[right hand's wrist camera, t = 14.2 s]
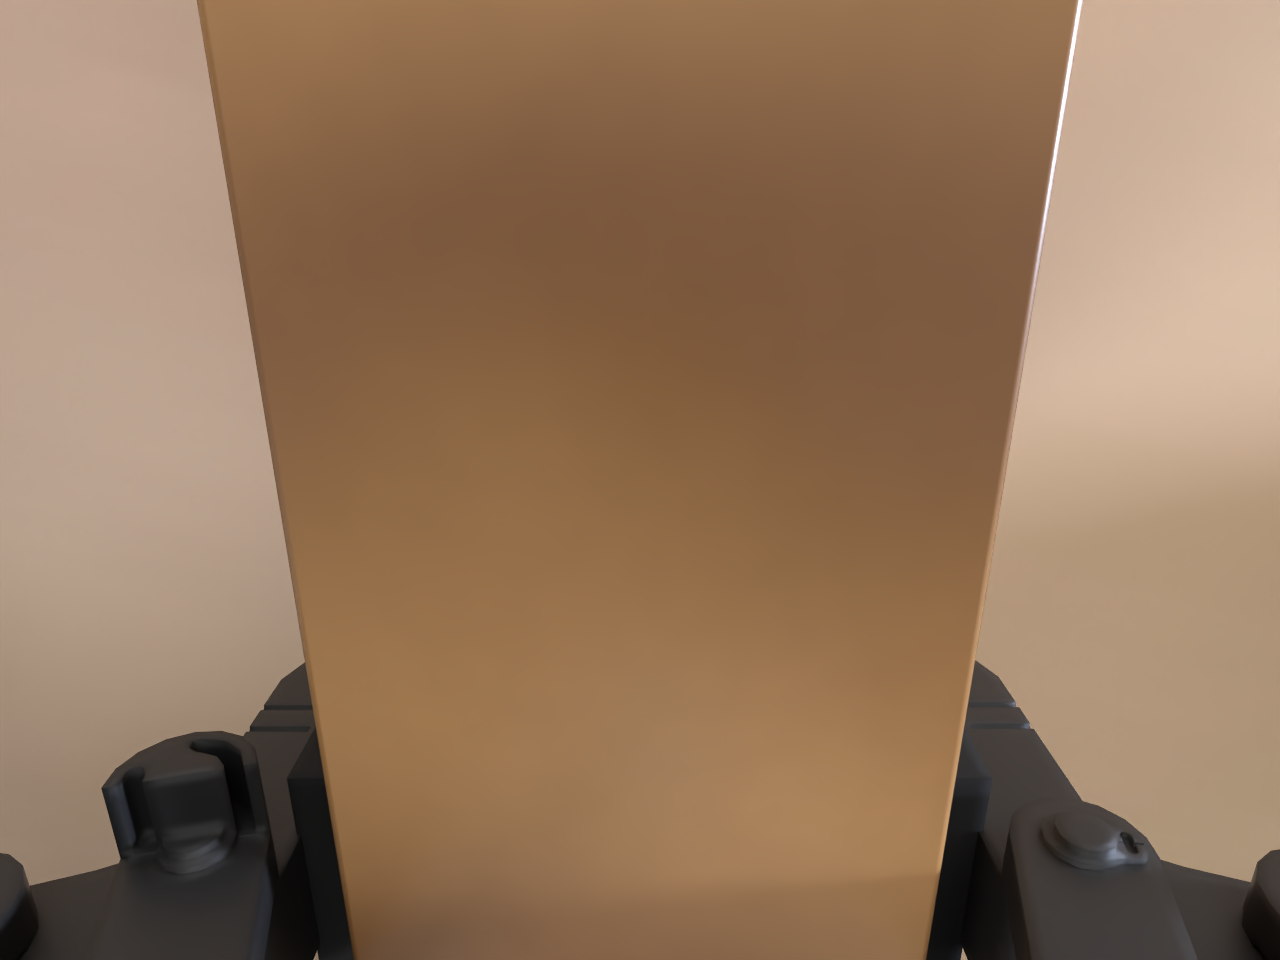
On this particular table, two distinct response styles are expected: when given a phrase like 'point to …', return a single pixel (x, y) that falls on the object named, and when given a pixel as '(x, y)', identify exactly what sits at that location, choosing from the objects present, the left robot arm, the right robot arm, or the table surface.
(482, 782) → the bar
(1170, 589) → the table surface
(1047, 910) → the right robot arm
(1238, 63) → the table surface
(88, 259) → the table surface
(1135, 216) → the table surface
